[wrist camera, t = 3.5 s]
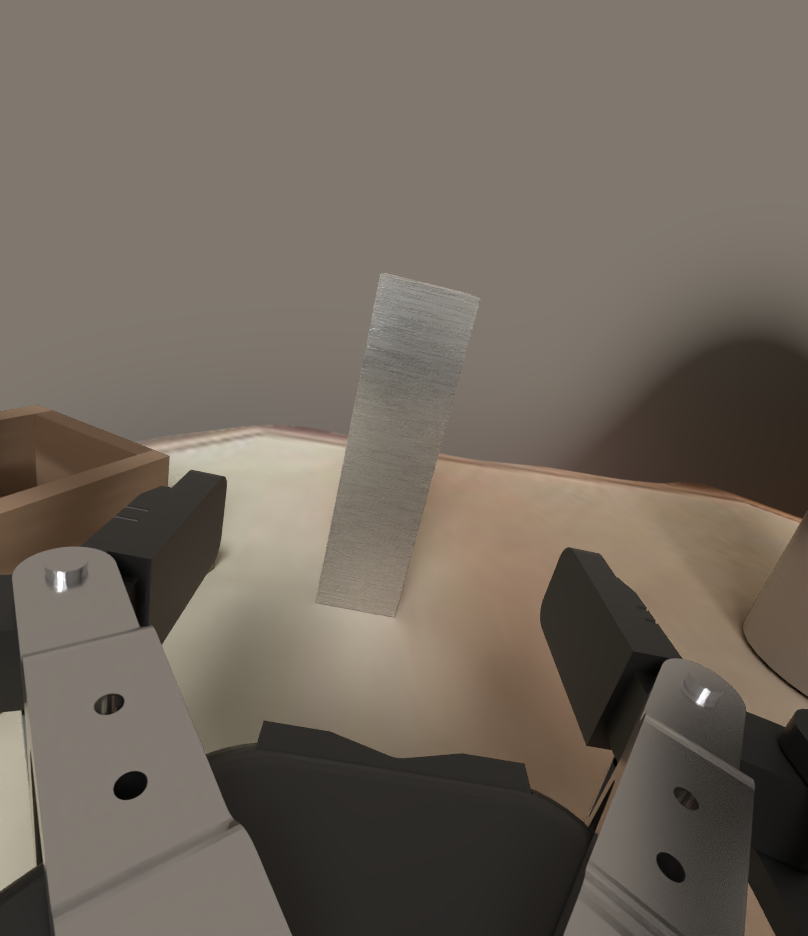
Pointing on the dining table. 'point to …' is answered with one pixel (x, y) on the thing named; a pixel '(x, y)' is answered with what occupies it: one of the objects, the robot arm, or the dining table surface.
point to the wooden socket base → (64, 481)
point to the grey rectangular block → (394, 440)
